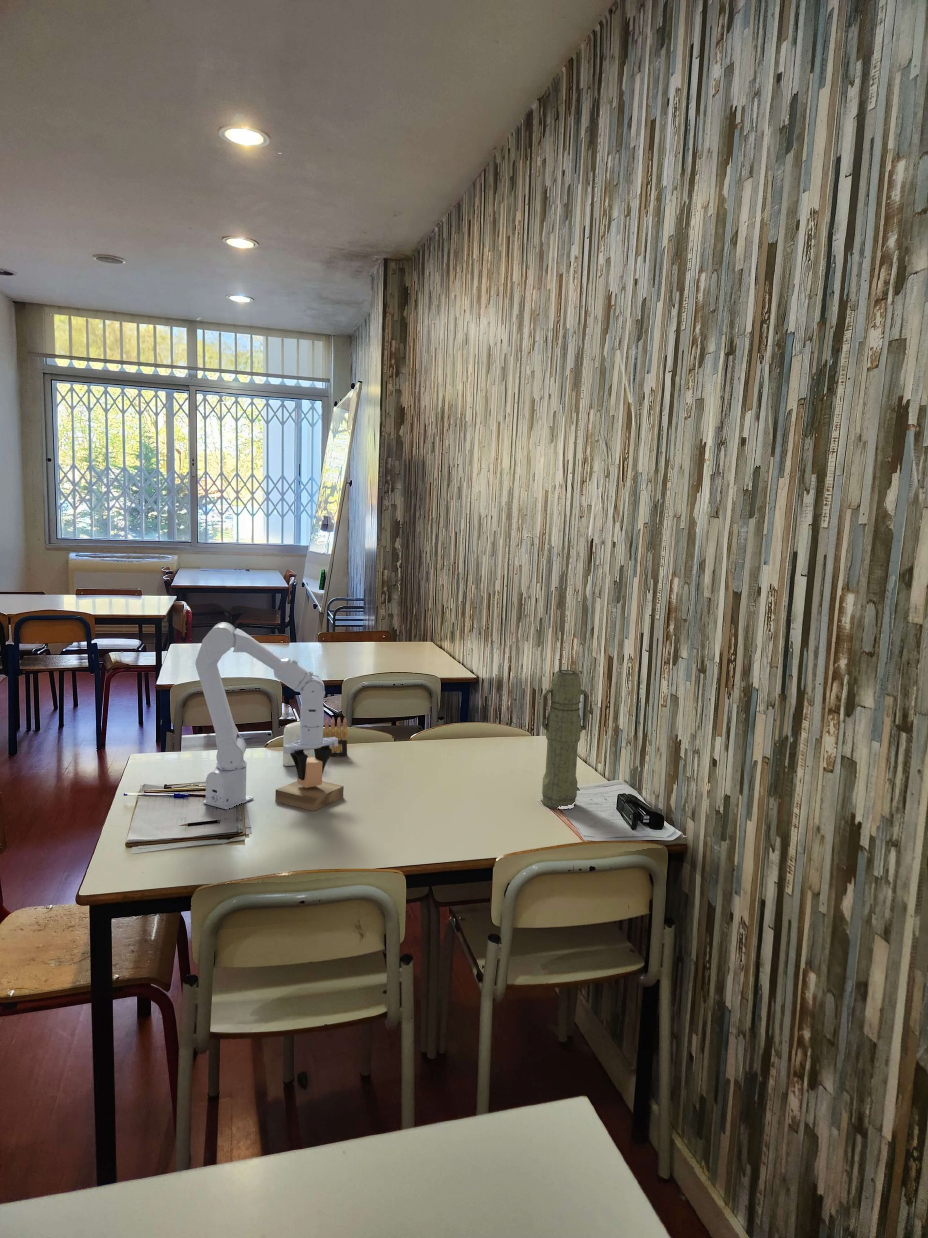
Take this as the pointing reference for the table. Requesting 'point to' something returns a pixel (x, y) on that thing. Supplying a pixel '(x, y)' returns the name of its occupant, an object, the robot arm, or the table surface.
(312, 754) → the white stone tablet
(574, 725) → the thermos
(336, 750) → the ammunition clip
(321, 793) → the walnut plinth
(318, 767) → the terracotta block
